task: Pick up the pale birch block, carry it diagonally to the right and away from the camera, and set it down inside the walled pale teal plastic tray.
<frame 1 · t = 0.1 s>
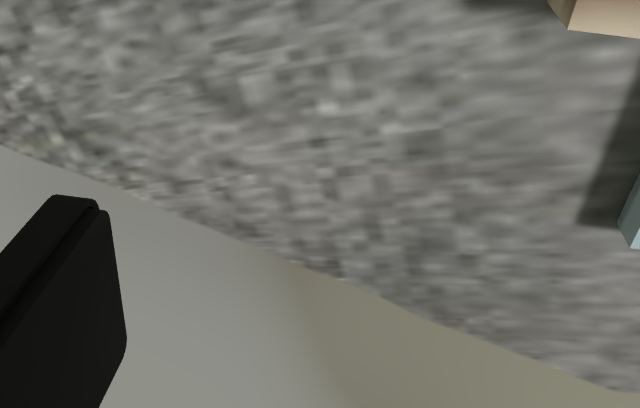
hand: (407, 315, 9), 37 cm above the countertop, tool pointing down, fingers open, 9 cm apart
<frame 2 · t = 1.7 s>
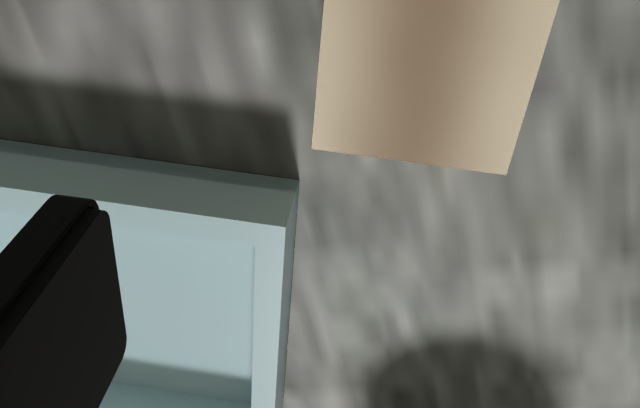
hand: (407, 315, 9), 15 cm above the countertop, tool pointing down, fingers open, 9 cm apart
birch block: (422, 7, 22), on the countertop
teal tray: (139, 287, 31), on the countertop
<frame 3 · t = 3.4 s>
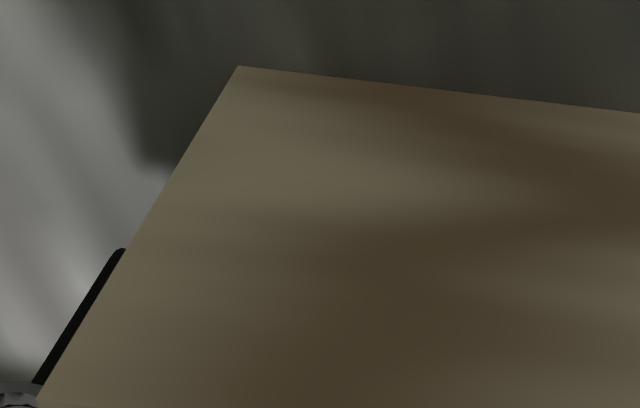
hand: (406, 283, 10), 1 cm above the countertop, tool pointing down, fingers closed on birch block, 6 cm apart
birch block: (406, 249, 10), on the countertop, touching gripper
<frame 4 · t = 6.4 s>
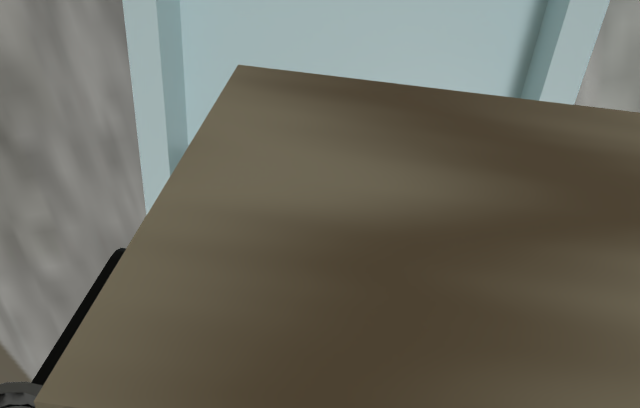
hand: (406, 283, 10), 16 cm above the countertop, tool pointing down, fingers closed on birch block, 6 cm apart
birch block: (407, 249, 10), point 15 cm above the countertop, touching gripper
teal tray: (351, 60, 25), on the countertop
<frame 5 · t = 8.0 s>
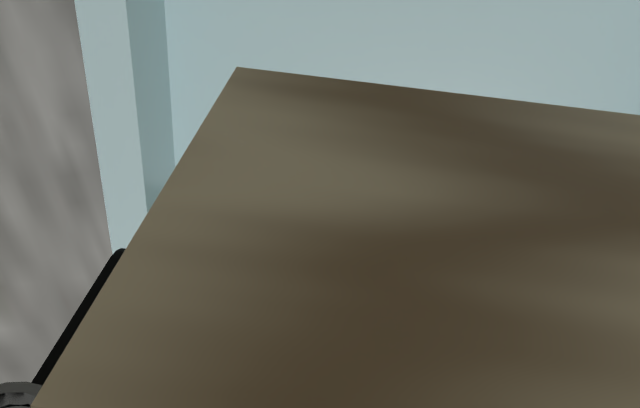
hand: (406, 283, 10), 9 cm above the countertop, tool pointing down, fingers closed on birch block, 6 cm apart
birch block: (406, 251, 10), point 8 cm above the countertop, touching gripper
teal tray: (410, 68, 17), on the countertop
when the fingers open (4 cm above the countertop, at t = 9.4 s): birch block drops 2 cm, resting on teal tray.
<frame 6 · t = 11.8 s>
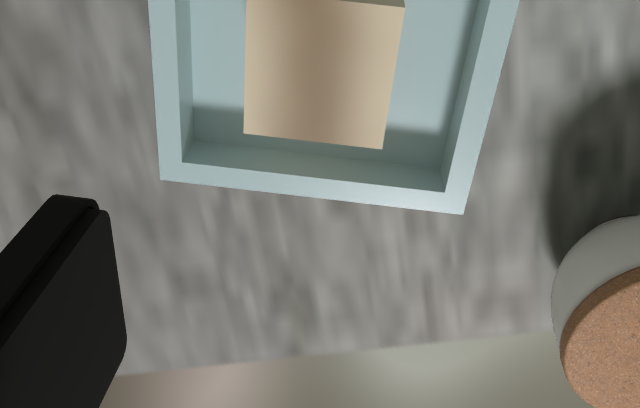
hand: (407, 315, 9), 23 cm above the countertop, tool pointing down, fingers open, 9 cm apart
birch block: (328, 30, 29), point 1 cm above the countertop, touching teal tray
lidded jar: (621, 255, 36), on the countertop
teal tray: (329, 25, 30), on the countertop
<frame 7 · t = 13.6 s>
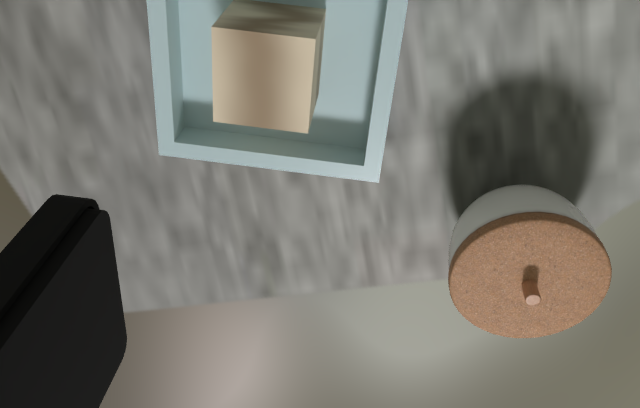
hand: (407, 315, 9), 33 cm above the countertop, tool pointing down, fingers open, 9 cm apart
birch block: (278, 48, 41), point 1 cm above the countertop, touching teal tray
lidded jar: (510, 217, 48), on the countertop
teal tray: (280, 44, 41), on the countertop
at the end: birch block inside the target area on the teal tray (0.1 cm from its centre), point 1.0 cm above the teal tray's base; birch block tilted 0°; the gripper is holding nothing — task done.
